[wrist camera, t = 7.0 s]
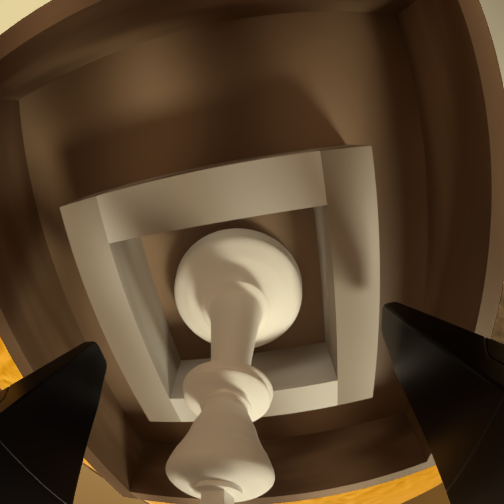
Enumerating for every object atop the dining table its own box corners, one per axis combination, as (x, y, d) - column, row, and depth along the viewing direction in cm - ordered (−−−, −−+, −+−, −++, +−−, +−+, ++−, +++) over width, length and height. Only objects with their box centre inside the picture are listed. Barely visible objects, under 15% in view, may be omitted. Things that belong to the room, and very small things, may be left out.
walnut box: (401, 5, 9) (461, -40, 4) (411, 405, 16) (438, 463, 11) (16, 91, 10) (-58, 87, 5) (140, 438, 17) (123, 496, 12)
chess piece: (155, 254, 11) (-6, 487, 2) (278, 208, 11) (371, 512, 1) (206, 352, 13) (165, 580, 4) (316, 320, 12) (381, 565, 3)
